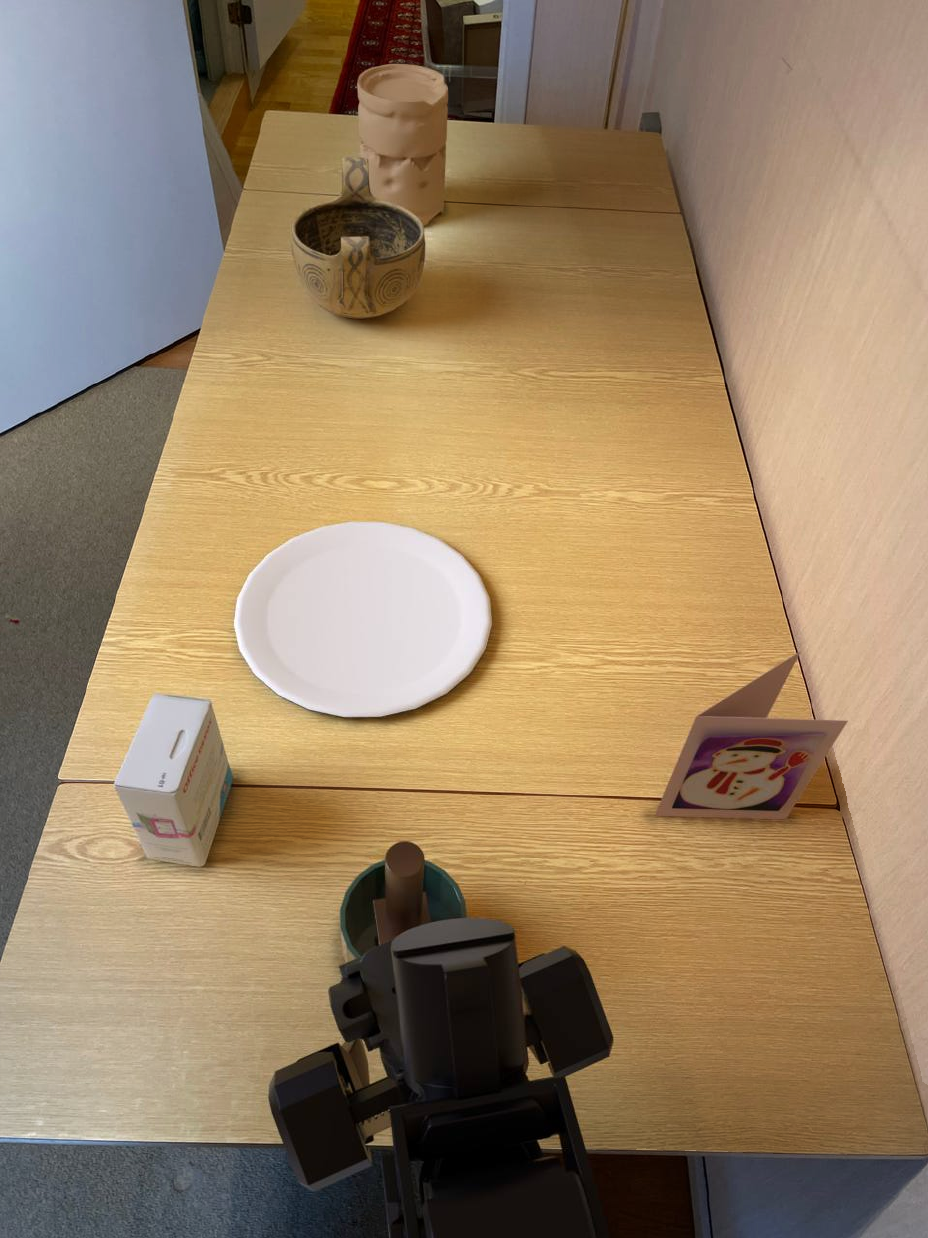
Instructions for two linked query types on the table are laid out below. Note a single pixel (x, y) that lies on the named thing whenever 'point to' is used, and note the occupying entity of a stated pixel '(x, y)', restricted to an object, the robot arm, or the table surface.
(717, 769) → the greeting card
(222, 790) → the ink box
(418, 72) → the container
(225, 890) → the table surface
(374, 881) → the green and tan cup
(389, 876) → the brown stamp
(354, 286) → the ceramic bowl
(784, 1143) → the table surface
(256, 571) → the plate
